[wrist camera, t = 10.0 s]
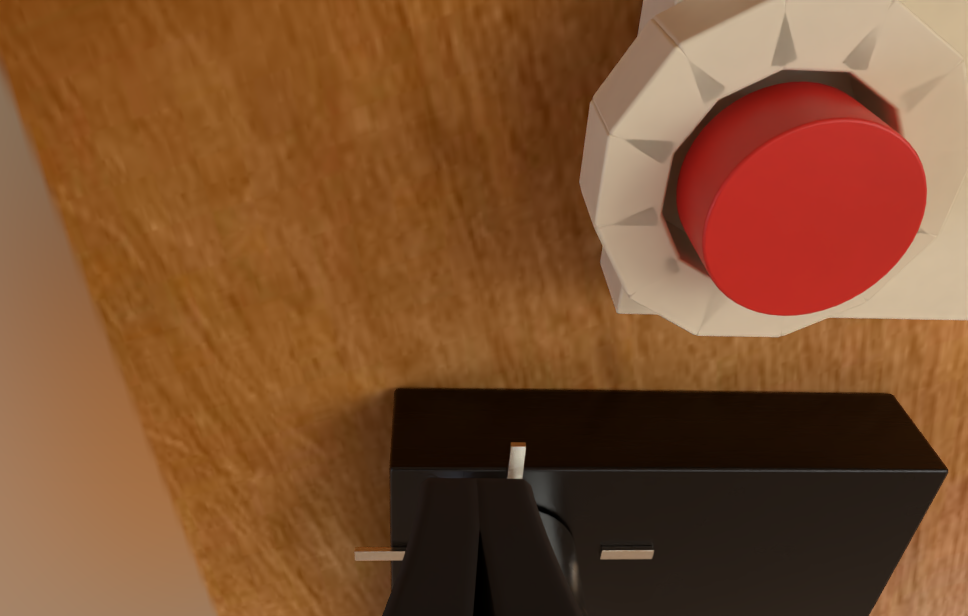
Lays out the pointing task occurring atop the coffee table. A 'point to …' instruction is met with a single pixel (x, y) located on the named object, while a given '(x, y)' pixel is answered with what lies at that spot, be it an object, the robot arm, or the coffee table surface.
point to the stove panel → (687, 490)
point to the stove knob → (565, 556)
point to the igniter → (747, 68)
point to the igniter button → (799, 198)
